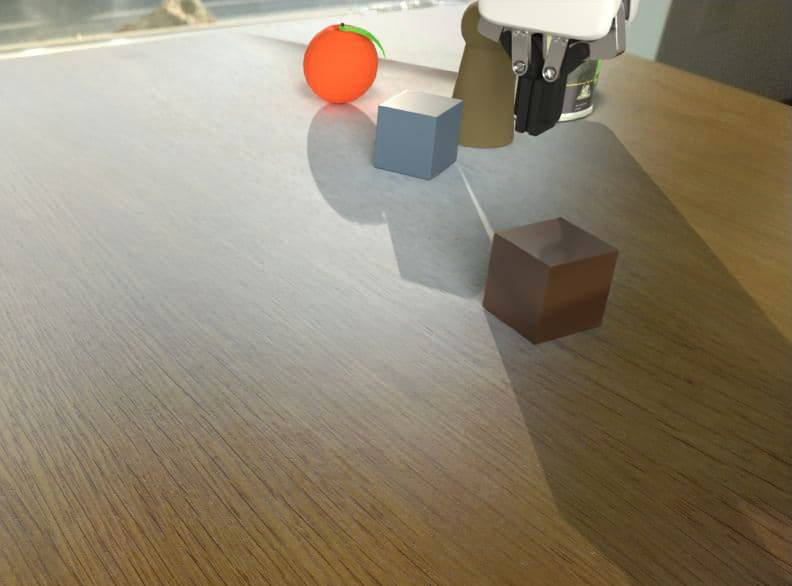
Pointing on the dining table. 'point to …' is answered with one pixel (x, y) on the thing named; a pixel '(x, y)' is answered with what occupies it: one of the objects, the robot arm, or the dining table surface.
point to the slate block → (418, 133)
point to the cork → (484, 88)
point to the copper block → (549, 279)
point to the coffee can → (577, 89)
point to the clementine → (341, 63)
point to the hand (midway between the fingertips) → (535, 128)
